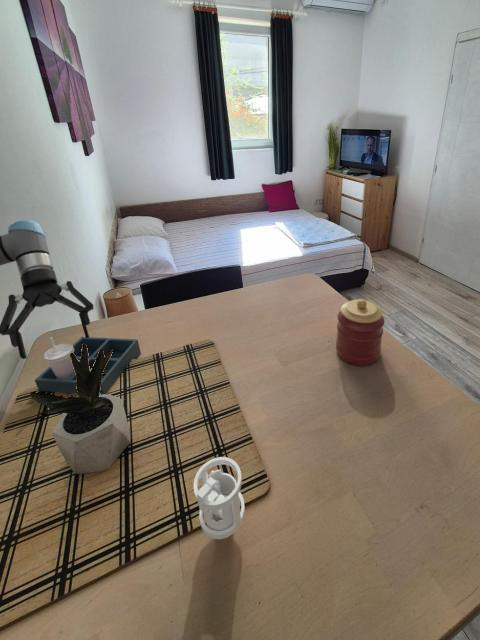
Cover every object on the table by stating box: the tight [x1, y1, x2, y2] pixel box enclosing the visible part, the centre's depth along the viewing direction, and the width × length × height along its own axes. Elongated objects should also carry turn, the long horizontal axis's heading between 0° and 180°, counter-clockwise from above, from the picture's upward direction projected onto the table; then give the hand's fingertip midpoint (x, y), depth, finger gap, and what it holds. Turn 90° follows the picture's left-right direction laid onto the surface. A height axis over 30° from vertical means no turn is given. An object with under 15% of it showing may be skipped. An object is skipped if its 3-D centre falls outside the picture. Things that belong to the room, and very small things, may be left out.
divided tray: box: [34, 336, 142, 395], centre depth 88 cm, size 17×17×5 cm
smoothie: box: [43, 336, 75, 380], centre depth 83 cm, size 6×6×14 cm
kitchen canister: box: [335, 298, 385, 367], centre depth 93 cm, size 13×13×18 cm
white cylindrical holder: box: [193, 456, 246, 540], centre depth 51 cm, size 7×7×15 cm
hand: (56, 346), depth 83 cm, fingers open, 13 cm apart
